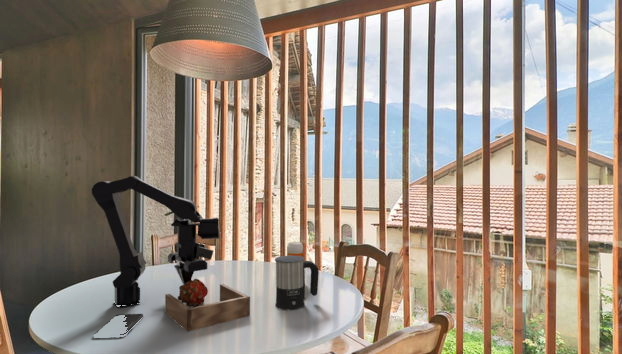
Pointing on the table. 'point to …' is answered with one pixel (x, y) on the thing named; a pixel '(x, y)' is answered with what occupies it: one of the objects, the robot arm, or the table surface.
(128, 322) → the phone
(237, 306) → the box
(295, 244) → the white capped bottle
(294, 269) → the milk frother
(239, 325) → the table surface
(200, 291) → the dragon fruit
